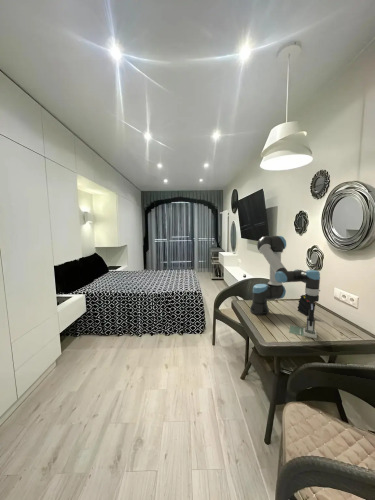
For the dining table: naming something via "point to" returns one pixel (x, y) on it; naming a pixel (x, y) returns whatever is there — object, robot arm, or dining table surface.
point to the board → (302, 332)
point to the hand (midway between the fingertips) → (310, 328)
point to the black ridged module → (303, 305)
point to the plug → (313, 324)
